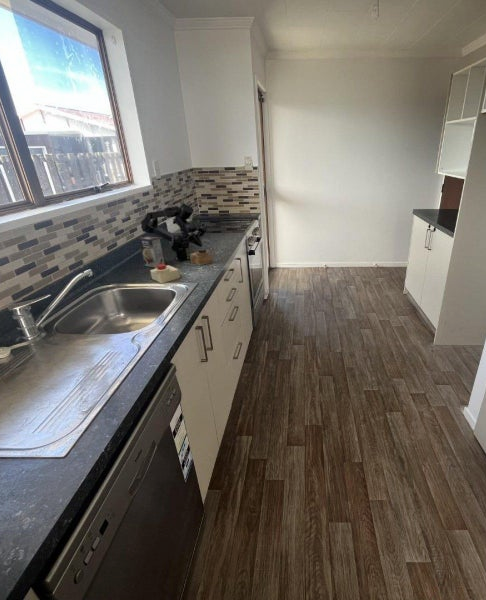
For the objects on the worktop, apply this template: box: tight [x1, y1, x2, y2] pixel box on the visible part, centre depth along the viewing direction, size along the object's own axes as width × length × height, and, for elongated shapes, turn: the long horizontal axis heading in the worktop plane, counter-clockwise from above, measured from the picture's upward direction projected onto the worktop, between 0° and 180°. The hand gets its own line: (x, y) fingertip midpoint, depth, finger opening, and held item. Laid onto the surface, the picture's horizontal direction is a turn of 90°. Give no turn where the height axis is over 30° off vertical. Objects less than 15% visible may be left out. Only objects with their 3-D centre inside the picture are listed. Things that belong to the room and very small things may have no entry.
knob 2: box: [198, 247, 207, 253], centre depth 185 cm, size 4×4×2 cm
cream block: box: [150, 265, 181, 284], centre depth 166 cm, size 10×10×6 cm
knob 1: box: [157, 263, 167, 270], centre depth 162 cm, size 4×4×2 cm
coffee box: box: [138, 235, 165, 269], centre depth 183 cm, size 9×6×16 cm
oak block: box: [189, 249, 212, 267], centre depth 188 cm, size 11×8×7 cm
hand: (201, 246), depth 184 cm, fingers closed
